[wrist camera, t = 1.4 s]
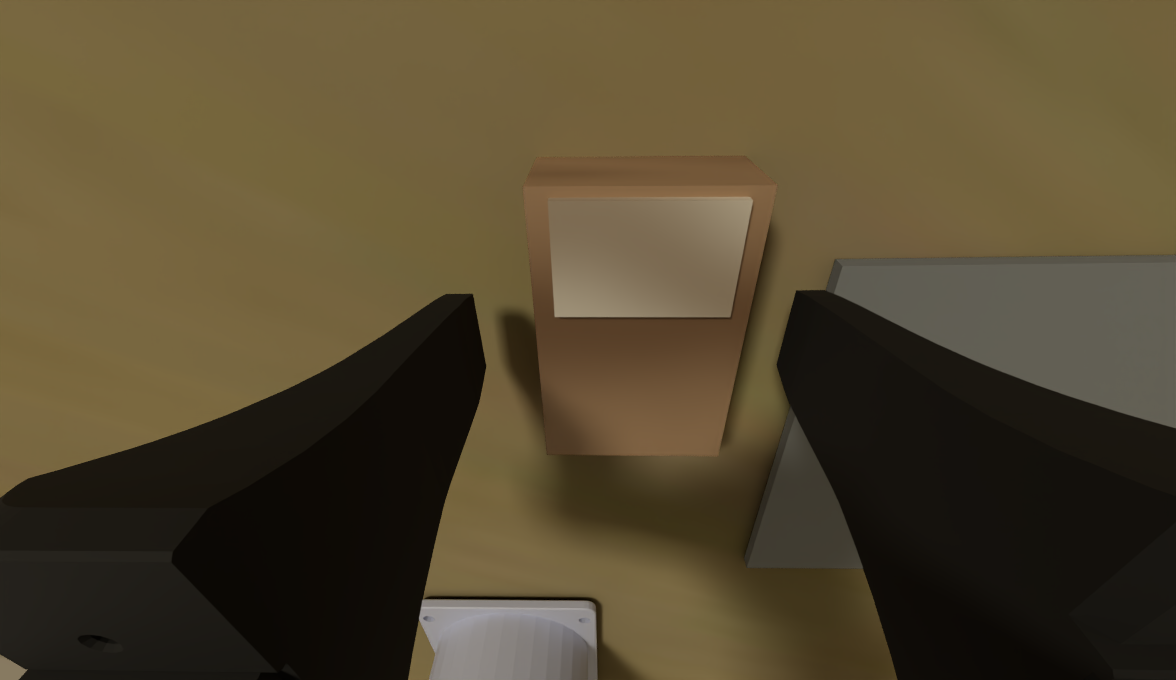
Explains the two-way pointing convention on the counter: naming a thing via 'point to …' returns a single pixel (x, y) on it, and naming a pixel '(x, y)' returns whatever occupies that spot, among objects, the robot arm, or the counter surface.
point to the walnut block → (642, 296)
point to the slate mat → (989, 360)
